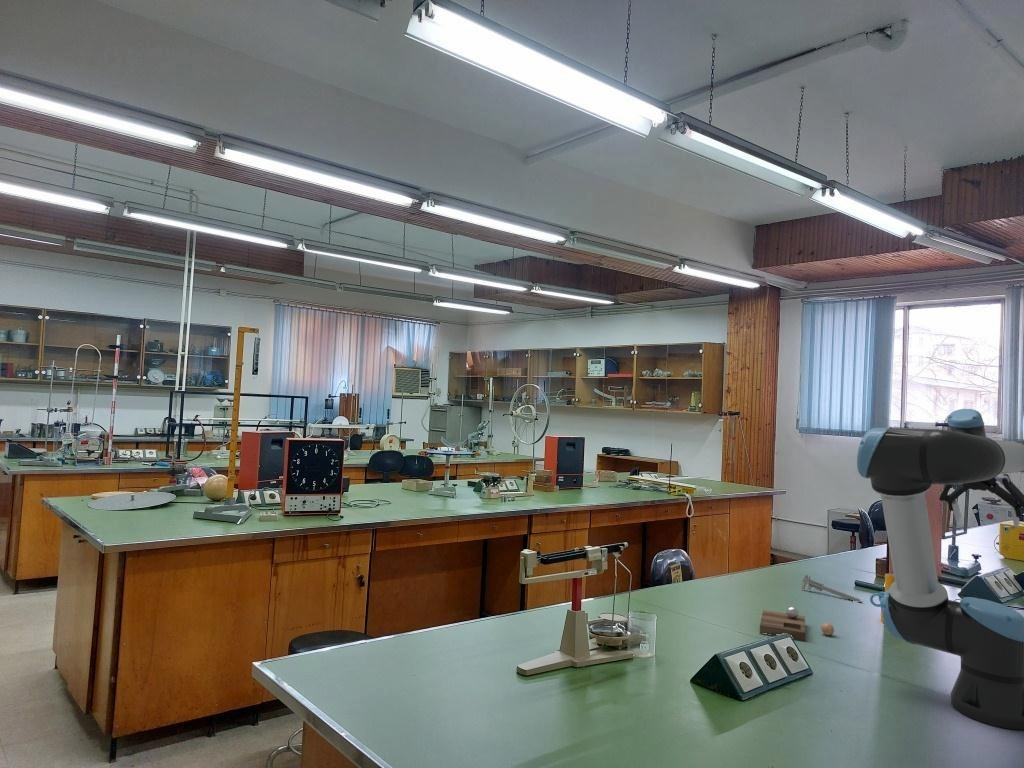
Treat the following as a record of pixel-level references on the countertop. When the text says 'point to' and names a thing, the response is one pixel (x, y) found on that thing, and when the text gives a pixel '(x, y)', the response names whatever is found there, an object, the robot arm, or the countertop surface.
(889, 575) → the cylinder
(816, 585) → the caliper
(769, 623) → the hole plate
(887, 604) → the robot arm
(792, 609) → the steel ball
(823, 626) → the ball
